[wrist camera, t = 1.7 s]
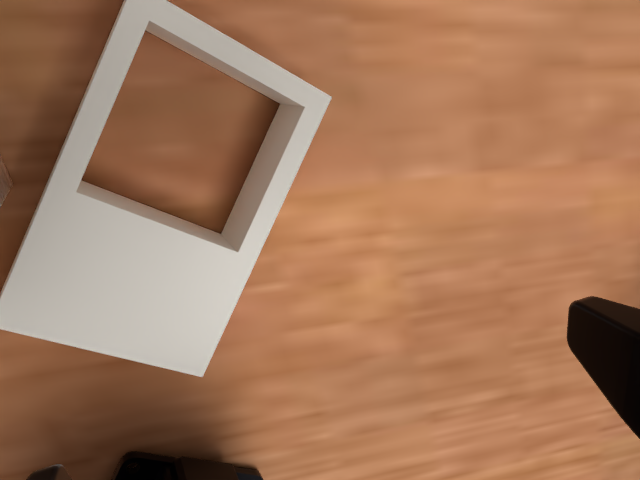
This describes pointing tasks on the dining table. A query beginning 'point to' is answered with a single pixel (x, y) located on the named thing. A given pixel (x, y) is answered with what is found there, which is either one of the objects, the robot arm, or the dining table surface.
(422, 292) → the dining table surface
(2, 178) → the grey long block
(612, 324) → the robot arm
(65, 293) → the grey block with hole
